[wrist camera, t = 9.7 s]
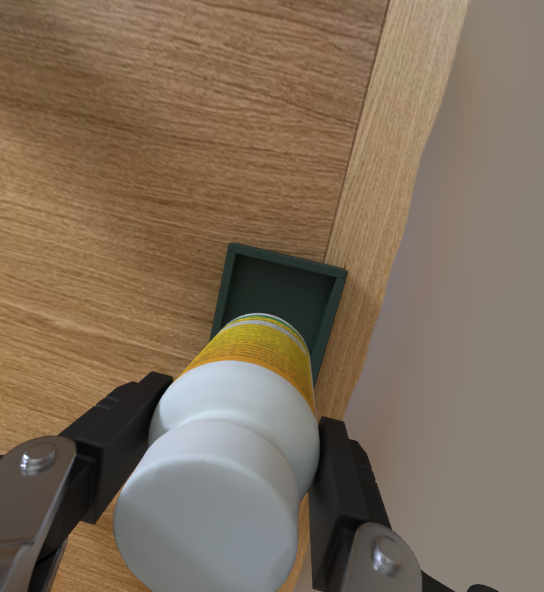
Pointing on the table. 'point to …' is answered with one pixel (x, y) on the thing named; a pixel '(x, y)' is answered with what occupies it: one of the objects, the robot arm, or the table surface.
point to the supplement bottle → (225, 466)
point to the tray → (281, 294)
